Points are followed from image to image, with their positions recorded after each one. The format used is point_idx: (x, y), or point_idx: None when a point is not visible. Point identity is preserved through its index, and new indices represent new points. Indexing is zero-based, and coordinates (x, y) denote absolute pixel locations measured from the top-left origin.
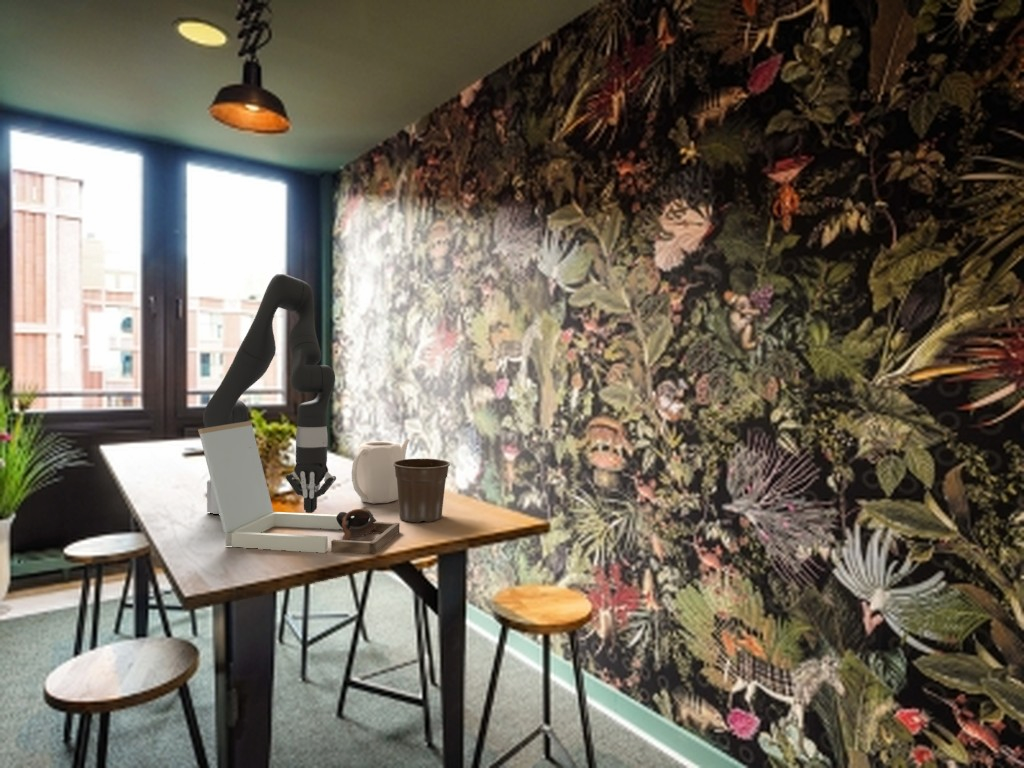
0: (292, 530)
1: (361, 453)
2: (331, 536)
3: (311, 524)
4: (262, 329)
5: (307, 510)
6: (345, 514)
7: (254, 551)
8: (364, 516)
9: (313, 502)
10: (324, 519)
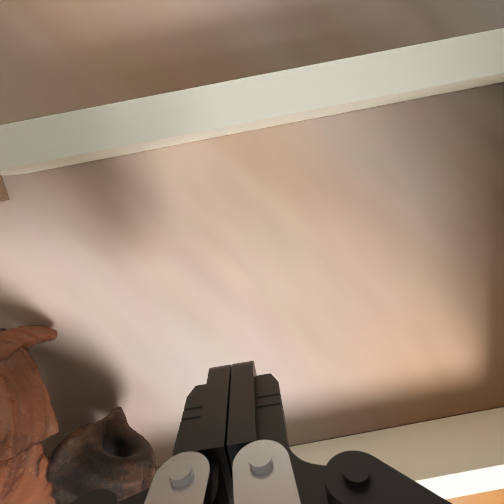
0: (397, 383)
1: None
2: (171, 371)
3: (341, 450)
4: None
5: (237, 370)
6: (68, 486)
7: (363, 34)
8: None
9: (186, 436)
10: None
